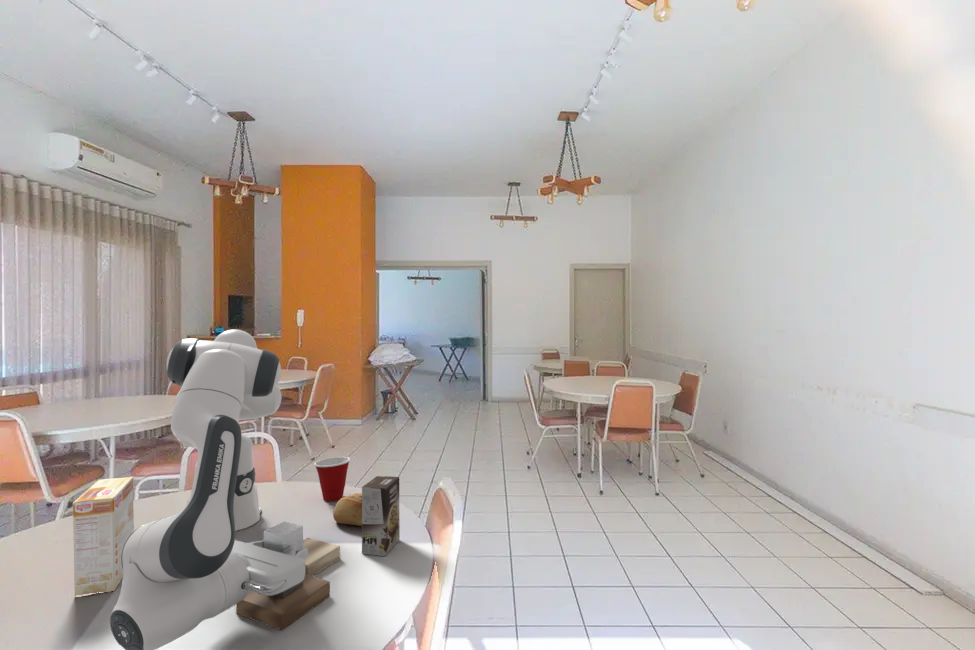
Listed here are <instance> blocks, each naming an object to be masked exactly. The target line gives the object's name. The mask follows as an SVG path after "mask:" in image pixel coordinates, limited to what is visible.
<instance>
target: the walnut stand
mask: <svg viewBox="0 0 975 650" xmlns="http://www.w3.org/2000/svg"><path fill="white" fill-rule="evenodd" d="M330 597H331V581H329V580H326V579H323V578H318V577H315V576H314V575H313V576H309V575H306V574H305V577H304V580H303V586H302V587H301V588H299V589H298V590H296V591H295V592H293V593H292V594H290V595H289V596H287V597H286V598H284V599H281V598H278V597H275V596H266V595H263V594H257V593H256V592H253V591H248V594H247V596H246V597H245V598H244V599H243V600H242V601H241V602H239V603H237V604H235V605H236V606H235V609H236V610H235V611H236V613H235V614H237V615H239V616H243V617H244V618H249V619H251V620H253V621H256V622H259V623H262V624H264V625H265V626H266V625H267V626H269V627H272V628H275V629H278V630H280V631H283V630H285V629H286V628H288V627H289V626H290V625H292V624H293V623H295V622H296V621H297V620H299V619H300V618H302V617H304V616H305V615H306V614H307V613H309V612H310V611H312V610H313V609H314V608H316V607H317V606H319V605H320V604H322V603H323V602H324V601H326V600H327V599H328V598H330Z"/></svg>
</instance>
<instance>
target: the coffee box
mask: <svg viewBox="0 0 975 650" xmlns="http://www.w3.org/2000/svg"><path fill="white" fill-rule="evenodd" d="M361 493H362V526H361V554H363V555H372V556H380V557H386V556H387V555H388V554H389V553H390V551H392V549H393V548H394V547H395V546H396V545H397V543H398V542H399V541H400V538H401V537H400V536H401V535H400V530H401V529H400V525H401V524H400V523H401V522H400V477H399V476H387V475H386V476H381V475H377V476H374V478H373V479H371V480H370V481H368V482H367V483H365V484H364V485H362V486H361Z"/></svg>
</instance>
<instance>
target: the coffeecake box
mask: <svg viewBox="0 0 975 650" xmlns="http://www.w3.org/2000/svg"><path fill="white" fill-rule="evenodd" d="M71 504H72V516H73V517H72V519H73V520H72V523H73V525H72V526H73V527H72V528H73V567H74V568H73V569H74V570H73V572H74V574H73V575H74V577H73V578H74V580H73V581H74V583H73V584H74V597H75V596H76V595H83V594H89V593H97V592H98V593H99V592H108V593H111V592H110V591H113V592H115V590H116V589H117V588H118V586H119V585H120V583H121V582H122V579H123V567H122V562H121V555H122V550H123V547H124V545H125V543H126V541H127V539H128V538H129V536H130V535H131V534H132V533H133V532H134V531H135V522H134V519H135V518H134V476H127V477H115V478H104V479H103V478H102V479H98V480H97V481H96V482H95V483H93V485H91V486H90V487H89V488H87V490H86V491H84V492H83V493H82V494H80V496H79V497H77V499H75V500H74V501H73V502H72V503H71Z"/></svg>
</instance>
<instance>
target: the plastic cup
mask: <svg viewBox="0 0 975 650" xmlns="http://www.w3.org/2000/svg"><path fill="white" fill-rule="evenodd" d="M350 461H351V458H350V457H349V456H334V457H332V456H331V457H329V458H323V459H320V460H317V461H315V462H314V463H313V465H314V467H315V470H316V472H317V475H318V481H319V486H320V490H321V495H322V499H323V501H324V502H330V503H331V502H338V501H339V500H340V499H341V498H344V494H345V493H344V492H345V487H346V482H347V481H346V479H347V474H348V469H349V463H350Z"/></svg>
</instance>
